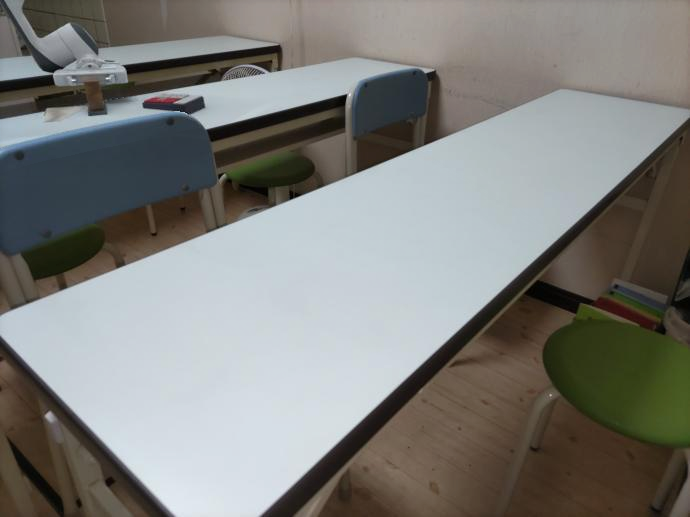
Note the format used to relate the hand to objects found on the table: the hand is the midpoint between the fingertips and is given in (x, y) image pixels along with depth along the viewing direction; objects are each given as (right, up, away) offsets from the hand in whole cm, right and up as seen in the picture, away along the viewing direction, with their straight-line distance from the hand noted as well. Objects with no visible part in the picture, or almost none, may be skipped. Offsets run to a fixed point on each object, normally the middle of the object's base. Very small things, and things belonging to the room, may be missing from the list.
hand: (91, 82), depth 148 cm
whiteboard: (-3, -10, +1) cm, 10 cm away
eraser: (+1, -8, +2) cm, 8 cm away
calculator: (+21, -6, +10) cm, 24 cm away
